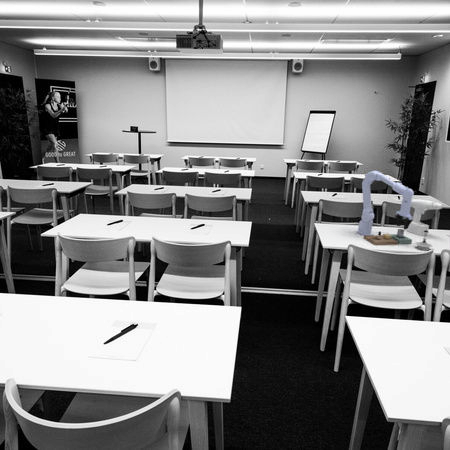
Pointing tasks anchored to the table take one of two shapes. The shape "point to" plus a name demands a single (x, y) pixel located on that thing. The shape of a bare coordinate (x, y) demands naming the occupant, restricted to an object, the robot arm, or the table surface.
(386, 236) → the release key
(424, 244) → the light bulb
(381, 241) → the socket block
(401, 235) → the steel peg
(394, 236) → the rack
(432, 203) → the power drill
